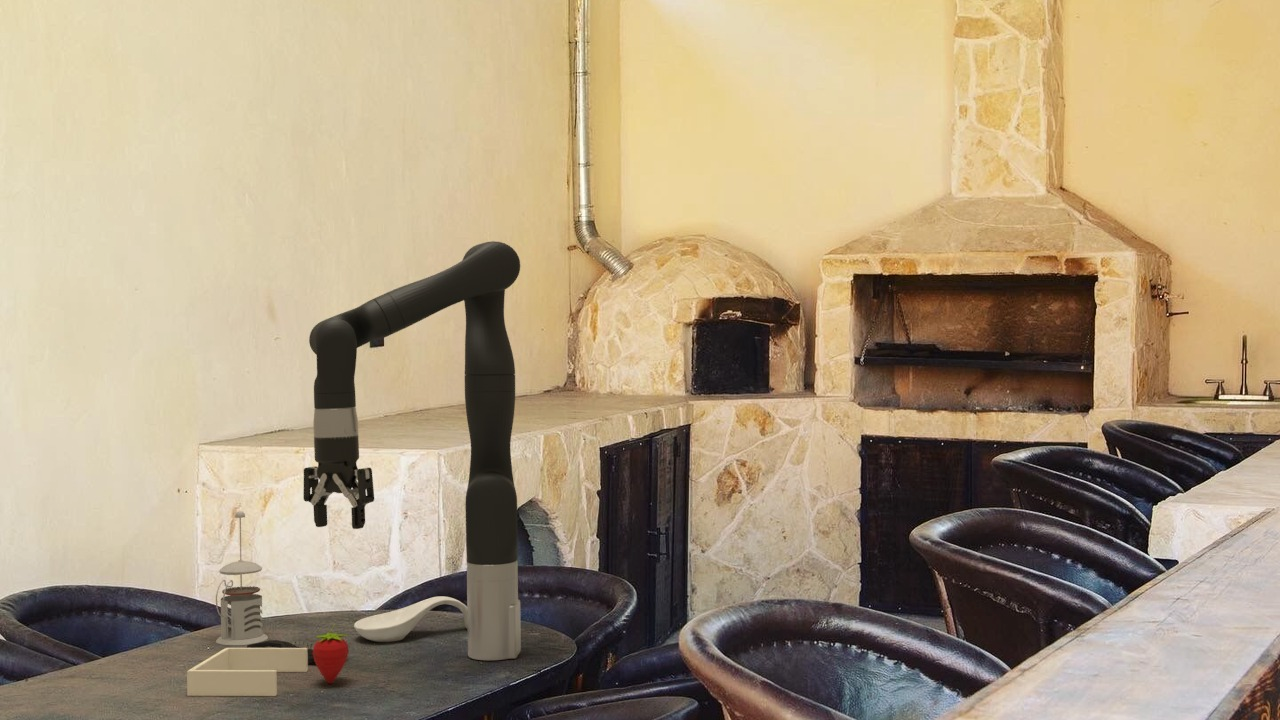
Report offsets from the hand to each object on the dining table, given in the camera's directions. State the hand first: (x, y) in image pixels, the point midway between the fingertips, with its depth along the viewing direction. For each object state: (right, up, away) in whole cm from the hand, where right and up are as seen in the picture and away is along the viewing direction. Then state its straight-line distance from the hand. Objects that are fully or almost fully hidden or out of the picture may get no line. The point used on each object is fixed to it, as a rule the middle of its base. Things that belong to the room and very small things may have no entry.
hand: (339, 527), depth 226 cm
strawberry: (0, -26, -7) cm, 26 cm away
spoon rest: (+8, -25, +30) cm, 40 cm away
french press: (-26, -26, +27) cm, 45 cm away
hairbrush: (-12, -26, +14) cm, 32 cm away
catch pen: (-14, -26, -6) cm, 30 cm away
